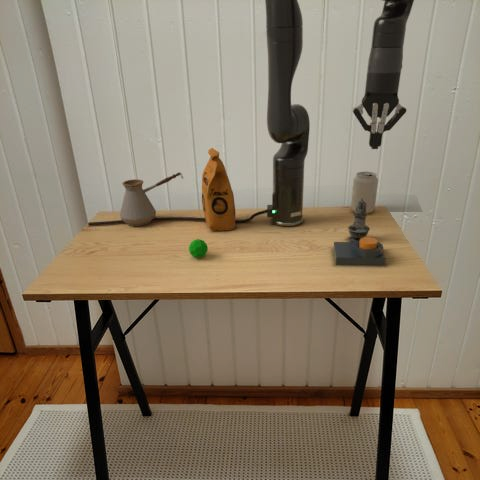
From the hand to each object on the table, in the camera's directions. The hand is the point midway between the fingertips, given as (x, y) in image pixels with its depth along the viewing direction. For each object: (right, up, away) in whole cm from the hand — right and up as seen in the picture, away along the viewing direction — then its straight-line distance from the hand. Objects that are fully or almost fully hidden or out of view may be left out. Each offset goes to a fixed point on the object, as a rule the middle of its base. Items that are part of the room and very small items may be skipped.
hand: (374, 148), depth 114 cm
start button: (-1, -25, +1) cm, 25 cm away
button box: (-3, -27, +4) cm, 27 cm away
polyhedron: (-45, -26, +9) cm, 53 cm away
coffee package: (-40, -13, +29) cm, 51 cm away
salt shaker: (-1, -21, +14) cm, 25 cm away
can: (+6, -8, +34) cm, 35 cm away
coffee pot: (-61, -11, +34) cm, 71 cm away
